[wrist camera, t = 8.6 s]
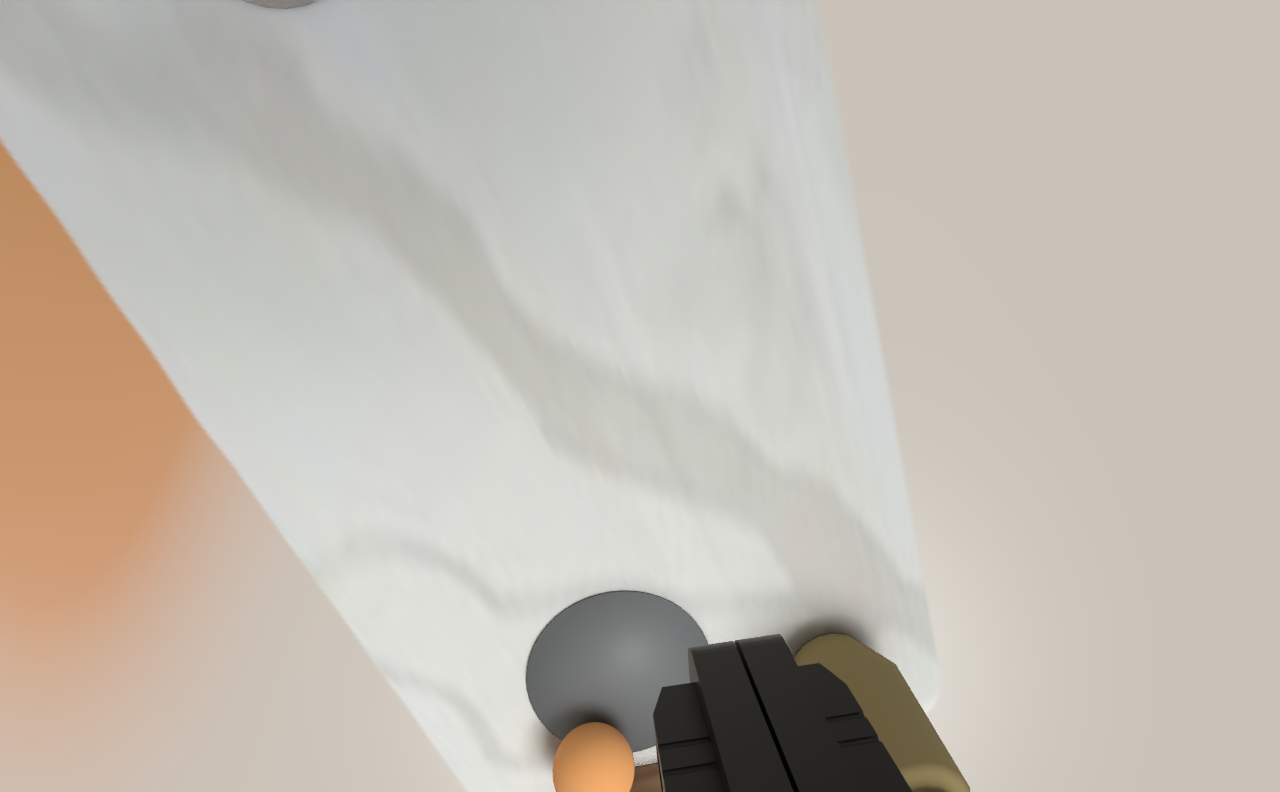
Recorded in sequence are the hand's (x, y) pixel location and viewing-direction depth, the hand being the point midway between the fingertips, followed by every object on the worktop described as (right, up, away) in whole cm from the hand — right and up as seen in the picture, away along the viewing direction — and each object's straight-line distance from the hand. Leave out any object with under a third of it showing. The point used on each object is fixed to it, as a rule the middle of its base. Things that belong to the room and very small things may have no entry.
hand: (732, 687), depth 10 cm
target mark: (-3, -15, +33) cm, 36 cm away
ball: (-5, -20, +31) cm, 37 cm away
